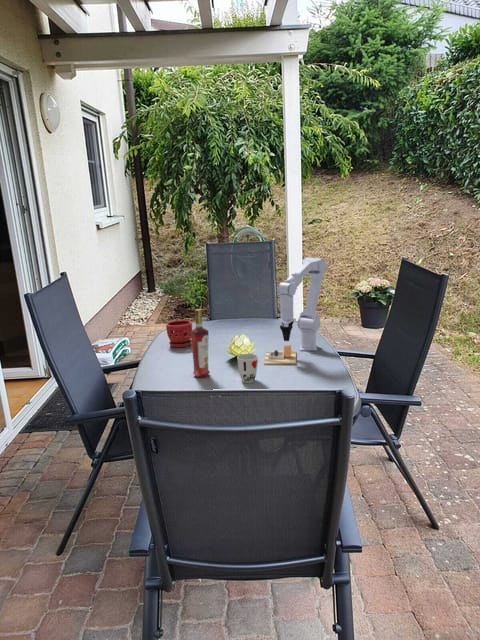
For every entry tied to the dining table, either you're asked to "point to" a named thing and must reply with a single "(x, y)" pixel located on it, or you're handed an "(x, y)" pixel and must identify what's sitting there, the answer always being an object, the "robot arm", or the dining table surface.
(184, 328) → the plant pot
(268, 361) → the board
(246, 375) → the cup
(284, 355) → the square frame with cube
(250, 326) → the dining table surface
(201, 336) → the liquor
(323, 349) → the dining table surface
